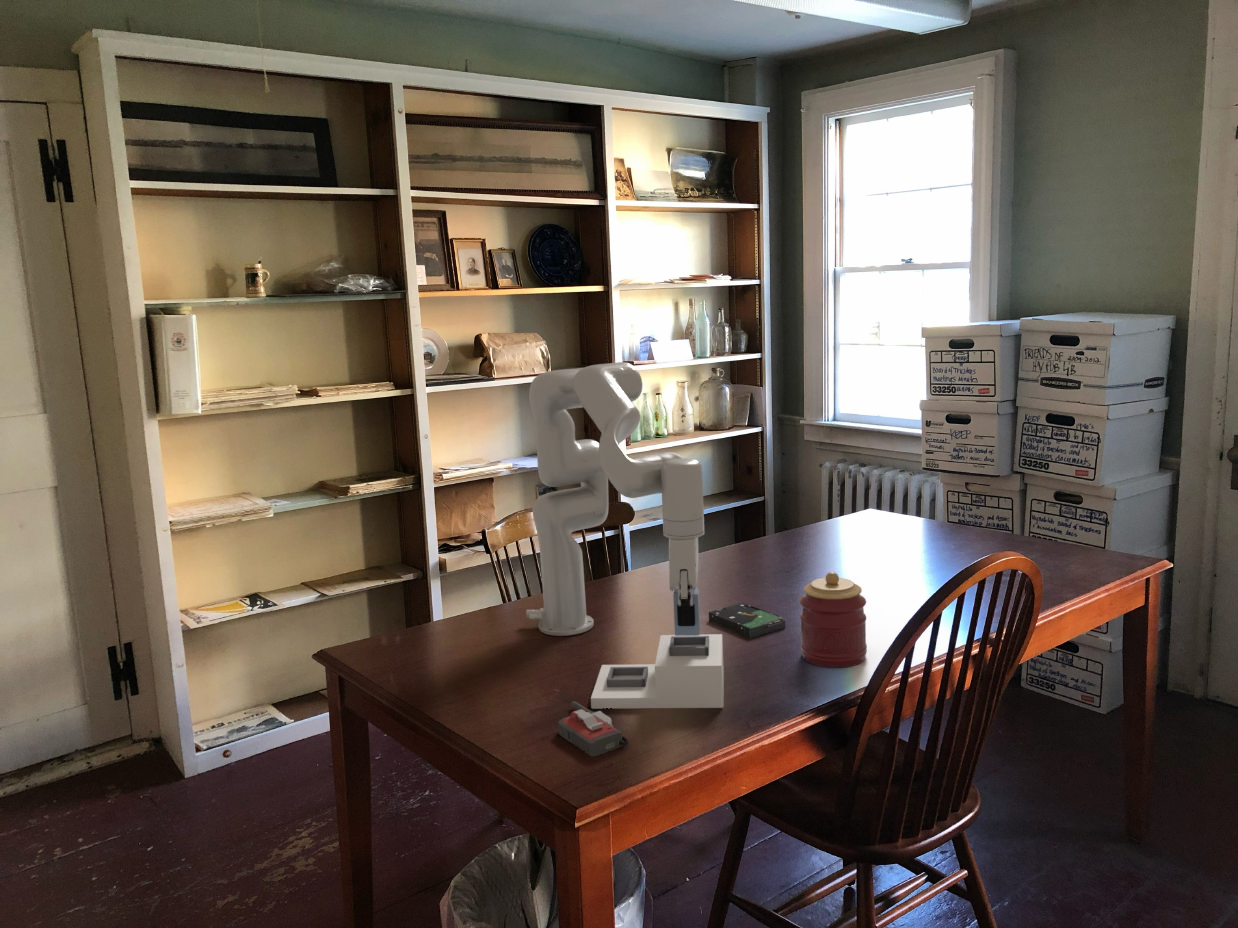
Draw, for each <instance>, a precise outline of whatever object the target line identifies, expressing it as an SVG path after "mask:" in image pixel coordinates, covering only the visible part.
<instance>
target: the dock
mask: <svg viewBox="0 0 1238 928" xmlns="http://www.w3.org/2000/svg"><path fill="white" fill-rule="evenodd" d="M723 644H724V643H723V634H722V633H719V634H716V633H715V634H714V633H710V634H706V633H705V634H699V636H675V634H660V637H659V643H658V647H657V652H656V657H655V662H654V663H653V664H651V663H649V664H647V663H645V664H642V663H641V664H640V663H639V664H638V663H637V664H601V667H600V669H599V673H598V675H597V678H596V681H595V685H594V687H593V688H594V689H593V691H592V694H591V695H590V696H591V697H590V706H591V707H590V708H591V709H592V710H593V709H596V710H597V709H601V710H602V709H603V708H604V709H606V708H608V709H610V708H612V709H724V694H725V693H724V691H725V690H724V689H725V687H724V685H725V683H724V682H725V681H724V680H725V669H724V666H725V665H724V648H723Z"/></svg>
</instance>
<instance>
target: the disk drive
mask: <svg viewBox="0 0 1238 928" xmlns="http://www.w3.org/2000/svg"><path fill="white" fill-rule="evenodd" d="M708 621H709V622H710V623H712V624H715V625H718V626H720V627H723V628H725V629H727V630H730V629H731V630H730V631H732V630H733V631H732V632H734V631H735V632H734V633H738V634H739V633H740V634H739V635H741V634H742V635H741V636H744V635H745V636H744V637H747V636H748V637H747V638H749V637H750V638H749V639H752V637H753V638H755V636H756V637H758V636H762V635H761V634H763V635H766V634H769V633H772V632H776V631H778V629H779V630H781V629H786V620H784V618H783V617H782V616H780V615H778V614H775V613H773V612H769V611H766V610H763V609H762V608H758V607H756V606H754V605H751V604H748V603H745V602H740V603H737V604H733V605H730V606H726V607H723V608H722V609H721V610H716V609H715V610H712V611H708ZM775 630H776V631H775ZM765 633H766V634H765Z"/></svg>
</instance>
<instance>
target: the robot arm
mask: <svg viewBox="0 0 1238 928" xmlns="http://www.w3.org/2000/svg"><path fill="white" fill-rule="evenodd" d="M642 392H643V379H642V377H641V374H640V372H639V370H638V369H637V368H636V367H635V366H634V365H632V364H631V363H629V362H625V361H624V362H623V361H622V362H621V361H620V362H618V361H617V362H610V363H599V364H592V365H589V366H585V367H578V368H565V369H557V370H556V369H555V370H551V371H549V370H548V371H546V372H542V373H540V374H538V375H537V376H535V377H534V378H533V380H532V381H531V383H530V386H529V395H528V396H529V397H528V398H529V404H530V409H531V412H532V415H533V418H534V424H535V431H536V435H535V436H536V437H535V438H536V457H537V459H536V460H537V472H538V477H539V479H540V482H541V483H542V484H543V486H547V487H551V488H557V487H565V486H569V485H577V484H580V486H579V487H574V488H573V487H572V488H566V489H560V490H556V491H555V490H554V491H551V492H546V493H545V494H542V495H541V496H539V497H538V498H537V499H535V501H534V503H533V506H532V518H533V522H534V526H535V530H536V534H537V541H538V546H539V557H540V558H539V559H540V570H541V581H542V583H541V584H542V598H543V607H540V609H526V611H525V615H526V618H527V619H529V621H539V623H538V630H539V631H540V632H541V633H543V634H545V635H547V636H548V635H550V636H555V637H556V636H557V637H565V636H574V635H579V634H582V633H585V632H587V631H589V630H592V629H593V627H594V626H595V624H594V621H595V620H594V618H592V616H590V615H587V604H586V603H587V602H586V601H587V600H586V590H585V589H586V588H585V573H584V572H585V571H584V561H583V550H582V548H581V545H580V544H579V543H578V542H577V540H576V539H575V538H574V537H573V535H572V533H573V532H576V531H581V530H585V529H591V528H594V527H598V526H600V525H602V524H604V523H605V521H606V520H607V518H608V515H609V482H610V483H611V484H612V486H613V488H615V489H616V491H617V492H619V494H621V495H622V496H623V497H626V498H629V499H637V498H643V497H646V496H651V495H657V494H659V495H660V494H661V503H662V504H661V505H662V507H661V508H662V510H661V511H662V528H663V531H662V532H663V537H665V538H668V569H669V570H668V572H669V573H668V576H669V578H668V579H669V582H668V583H669V591H671V592H674V590H676V588H678V590H677V592H678V605H677V617H678V626H695V604H694V605H693V591H694V590H695V589H696V588H697V582H698V573H699V538H700V537H703V536H704V535H705V516H704V513H705V512H704V511H705V508H704V506H705V505H704V484H703V483H704V482H703V481H704V480H703V479H704V478H703V466H702V463H701V462H700V461H698V459H694V458H688V457H687V458H685V457H683V456H682V455H681V454H678V453H677V452H673V451H672V452H671V451H665V452H658V453H651V454H650V453H649V454H645V455H637V456H634V457H633V456H632V457H629V456H628V455H627V454H626V453H625V452H624V450H623V449H622V447H621V446H620V443H622V442H624V441H625V440H626V439H628V437H630V436H631V435H632V434H633V433H634V432H635V431H636V429H638V426H639V425H640V421H641V414H640V411H639V409H638V408H637V406H636V405H635V404H634V402H635V401H636V400H638V399H639V397H640V396H641V395H642ZM579 408H583V409H584V410H585V411H586V413H587V414H588V415H589V417H590V418H591V420H592V421H593V423H594V424H595V426H596V427H597V428H598V430H599V431H600V432H601V434H600V438H599V442H598V441H597V440H595V439H591V438H590V439H588V438H587V439H586V438H585V439H579V440H578V439H577V440H576V426H575V422H574V420H573V417H572V416H571V414H570V413H569V411H567V410H571V409H579ZM680 588H681V589H680ZM688 593H690V595H688Z"/></svg>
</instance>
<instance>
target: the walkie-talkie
mask: <svg viewBox="0 0 1238 928" xmlns="http://www.w3.org/2000/svg"><path fill="white" fill-rule="evenodd" d="M570 704H571V707H572V708H574V709H576V710H575V711H572V712H570V714H569V716H565V717H564V718H561V719H560V720H559V721H558V733H559V734H558V735H559V736H560V737H562V738H563V739H565V740H566V741H567V742H569V743H570V742H571V744H572V743H573V744H575V745H574V746H575V747H576V746H578V747H577V748H578V749H580V750H581V751H582V752H583V751H585V752H584V753H585V754H586V755H588V756H589V757H595V756H596V757H598V756H597V755H599V756H601V755H604V754H606V753H605V752H607V753H609V752H608V751H610V750H612V751H615V750H616V749H615V748H618V749H620V748H619V747H621V748H623V747H626V746H628V745H629V739H628V738H627V737H625V736H624V735H623V732H622V731H621V730H619V729H617V728H616V727H614V725H613V724H612V723H613V722H612V721H613V720H612V718H611V717H609V716H608V715H606V714H605V713H603V711H601V710H598V711H592V710H590V709H588V708H587V707H585V706H584V705H582V704H580V703H579V702H577V701H576V700H575V701H574V700H573V701H572V702H571V703H570ZM573 744H572V745H573ZM614 749H615V750H614ZM610 752H611V751H610ZM603 753H604V754H603ZM600 754H601V755H600Z"/></svg>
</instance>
